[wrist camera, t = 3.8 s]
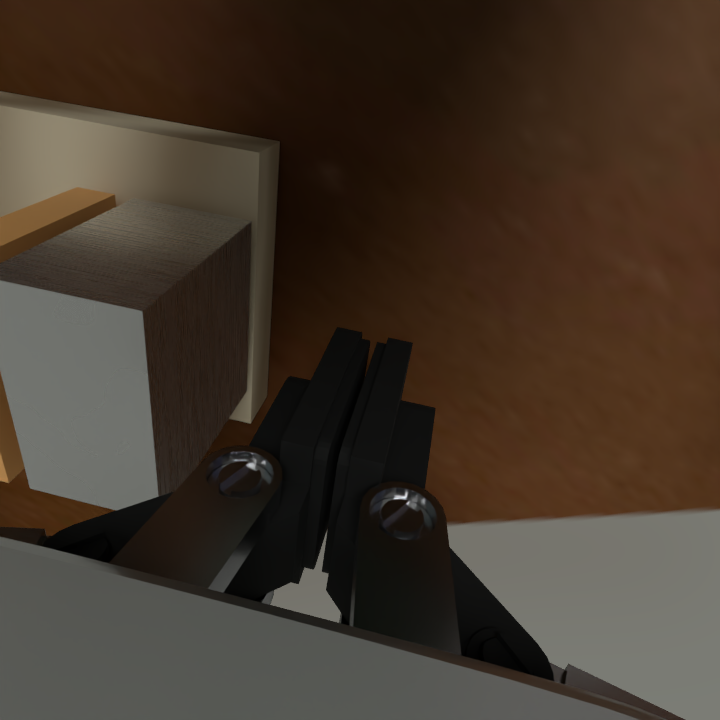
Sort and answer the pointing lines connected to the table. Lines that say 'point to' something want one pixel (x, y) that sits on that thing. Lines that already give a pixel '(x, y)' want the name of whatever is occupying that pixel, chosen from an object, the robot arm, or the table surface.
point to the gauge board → (151, 184)
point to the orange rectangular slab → (24, 233)
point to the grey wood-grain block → (125, 349)
